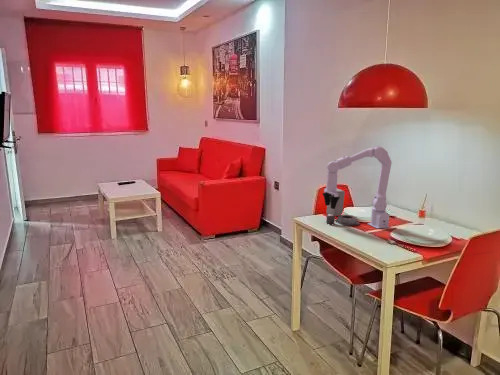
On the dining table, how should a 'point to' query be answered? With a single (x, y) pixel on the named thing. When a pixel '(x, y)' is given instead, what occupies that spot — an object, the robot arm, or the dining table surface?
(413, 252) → the dining table surface
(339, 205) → the skincare box
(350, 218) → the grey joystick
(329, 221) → the cap
